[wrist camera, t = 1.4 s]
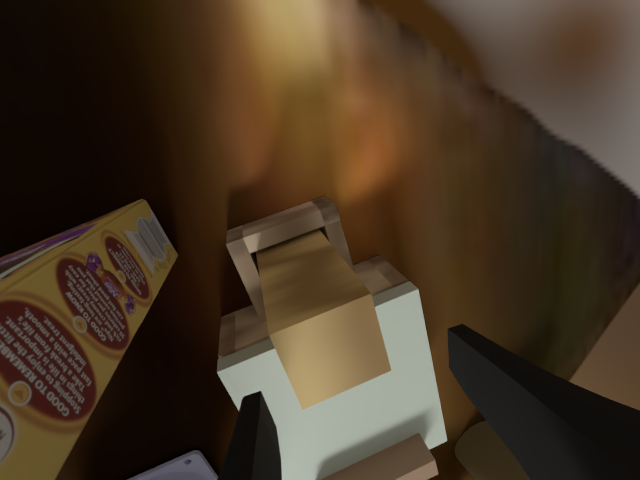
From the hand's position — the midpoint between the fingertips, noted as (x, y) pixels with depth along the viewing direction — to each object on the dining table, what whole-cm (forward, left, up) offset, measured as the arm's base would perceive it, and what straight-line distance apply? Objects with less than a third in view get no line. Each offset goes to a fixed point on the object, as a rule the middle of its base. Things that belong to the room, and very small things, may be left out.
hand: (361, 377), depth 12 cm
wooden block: (-1, +1, -11) cm, 11 cm away
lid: (-1, -9, -7) cm, 11 cm away
